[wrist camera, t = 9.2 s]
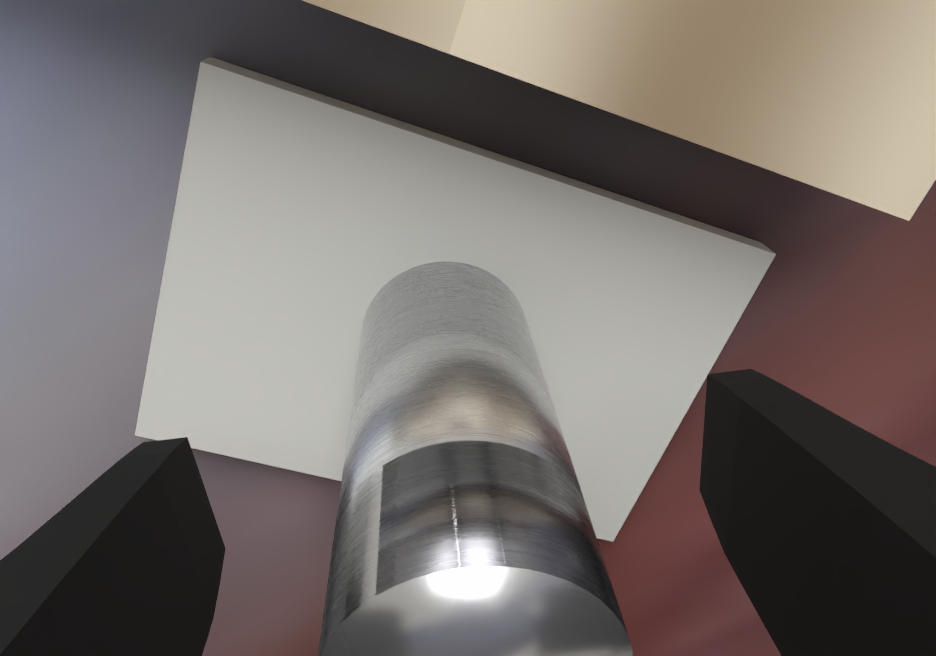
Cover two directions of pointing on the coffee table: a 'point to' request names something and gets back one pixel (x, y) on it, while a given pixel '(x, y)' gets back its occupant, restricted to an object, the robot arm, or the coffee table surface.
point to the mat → (401, 248)
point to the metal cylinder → (460, 488)
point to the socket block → (722, 75)
